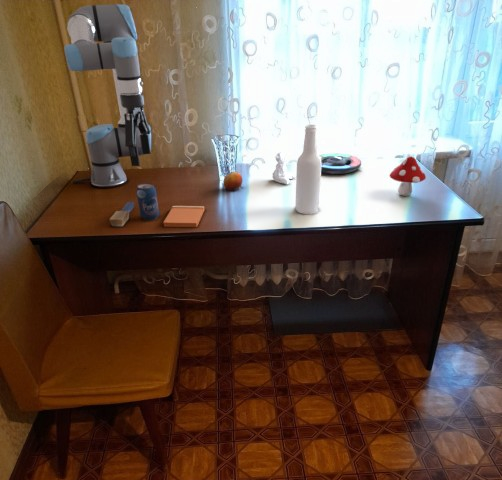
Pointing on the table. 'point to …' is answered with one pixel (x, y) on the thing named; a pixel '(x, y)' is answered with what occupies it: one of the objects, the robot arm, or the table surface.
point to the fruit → (233, 181)
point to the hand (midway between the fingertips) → (141, 159)
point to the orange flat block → (184, 216)
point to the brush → (121, 215)
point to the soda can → (147, 201)
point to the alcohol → (308, 174)
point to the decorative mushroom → (407, 175)
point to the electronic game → (339, 163)
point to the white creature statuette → (281, 170)
